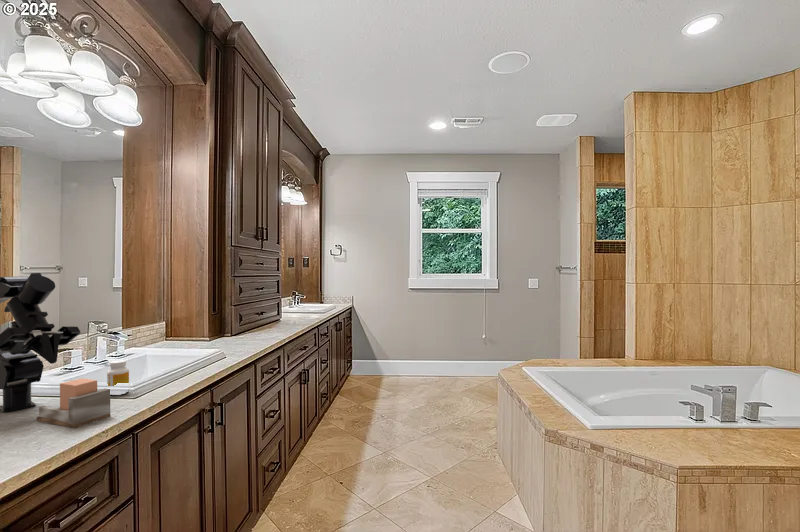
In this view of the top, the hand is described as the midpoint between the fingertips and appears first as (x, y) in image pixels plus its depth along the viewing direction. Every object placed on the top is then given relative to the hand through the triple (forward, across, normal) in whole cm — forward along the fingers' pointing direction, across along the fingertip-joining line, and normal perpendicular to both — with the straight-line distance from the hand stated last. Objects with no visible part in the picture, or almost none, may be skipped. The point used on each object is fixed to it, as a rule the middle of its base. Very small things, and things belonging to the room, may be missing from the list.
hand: (54, 362), depth 108 cm
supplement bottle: (+11, -18, -4) cm, 22 cm away
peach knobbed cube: (+16, +2, +1) cm, 16 cm away
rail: (+17, +2, 0) cm, 17 cm away
